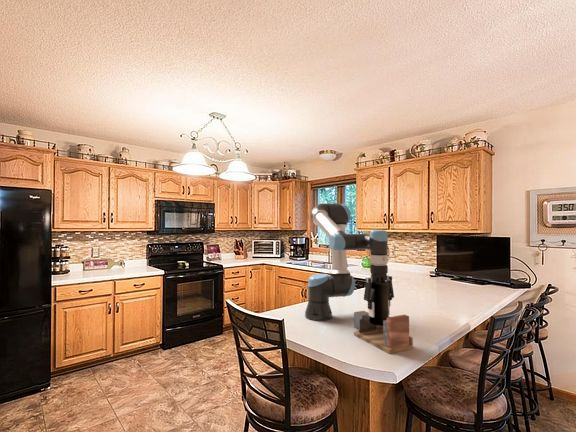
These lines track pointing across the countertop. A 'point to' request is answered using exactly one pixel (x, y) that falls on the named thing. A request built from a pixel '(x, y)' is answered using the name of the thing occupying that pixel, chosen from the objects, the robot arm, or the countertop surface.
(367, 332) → the rack
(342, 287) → the robot arm
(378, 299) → the container
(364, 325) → the bookend
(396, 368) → the countertop surface
